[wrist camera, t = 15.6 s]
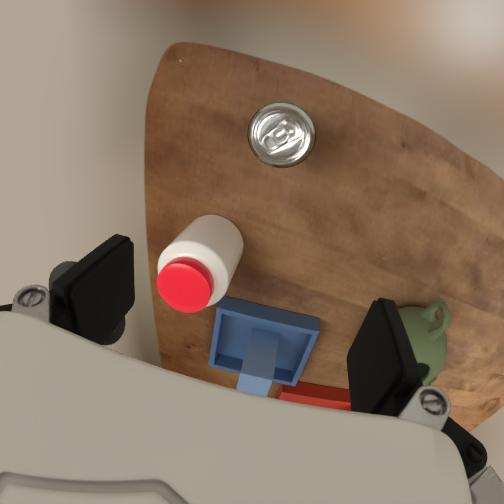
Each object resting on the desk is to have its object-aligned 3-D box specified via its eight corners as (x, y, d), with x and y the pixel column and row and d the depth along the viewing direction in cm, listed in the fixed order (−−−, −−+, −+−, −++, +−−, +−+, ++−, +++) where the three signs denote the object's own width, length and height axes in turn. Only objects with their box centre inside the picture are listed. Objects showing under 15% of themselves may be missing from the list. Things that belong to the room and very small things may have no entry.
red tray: (267, 414, 51) (265, 427, 48) (283, 378, 46) (281, 391, 43) (334, 425, 50) (334, 437, 48) (359, 390, 45) (360, 404, 42)
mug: (410, 371, 42) (421, 411, 34) (344, 357, 42) (348, 401, 35) (463, 294, 35) (488, 330, 27) (394, 269, 35) (414, 308, 28)
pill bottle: (181, 214, 37) (139, 250, 27) (242, 214, 36) (218, 254, 26) (188, 269, 40) (154, 317, 30) (244, 272, 39) (225, 325, 29)
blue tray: (213, 353, 46) (208, 366, 43) (222, 294, 41) (216, 307, 38) (296, 372, 45) (295, 386, 42) (319, 318, 40) (319, 331, 37)
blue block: (247, 346, 43) (235, 392, 35) (252, 326, 42) (240, 372, 34) (273, 352, 43) (265, 399, 35) (279, 333, 41) (273, 380, 33)
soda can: (319, 136, 30) (330, 143, 20) (283, 162, 32) (274, 183, 22) (291, 99, 29) (286, 87, 18) (254, 126, 31) (230, 129, 20)
